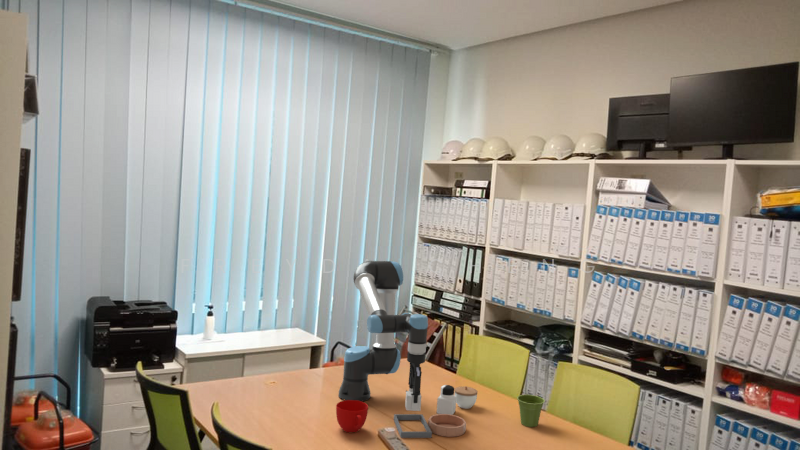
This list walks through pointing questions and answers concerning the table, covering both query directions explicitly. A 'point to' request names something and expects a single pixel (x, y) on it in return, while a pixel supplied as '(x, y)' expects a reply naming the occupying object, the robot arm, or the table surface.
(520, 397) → the plant pot
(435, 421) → the bowl
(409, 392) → the white cube
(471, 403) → the lidded jar
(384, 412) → the table surface
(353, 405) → the ceramic cup
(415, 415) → the parts tray
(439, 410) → the medicine bottle
